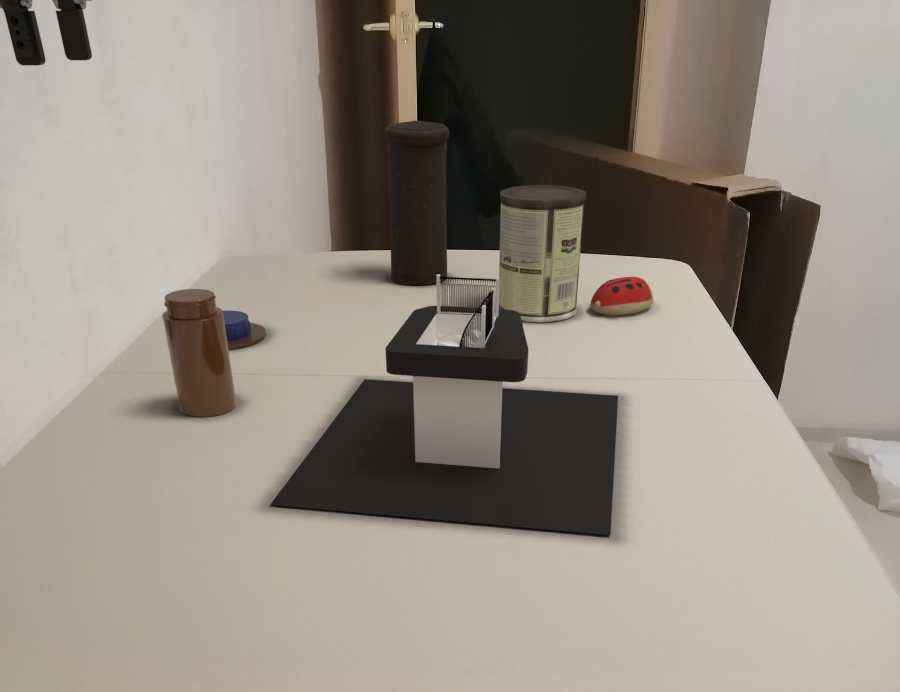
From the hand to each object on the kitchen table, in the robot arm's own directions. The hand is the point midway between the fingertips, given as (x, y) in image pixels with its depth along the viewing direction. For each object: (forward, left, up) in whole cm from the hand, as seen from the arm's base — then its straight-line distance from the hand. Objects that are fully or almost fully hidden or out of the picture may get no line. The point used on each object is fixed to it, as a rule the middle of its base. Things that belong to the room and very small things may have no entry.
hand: (57, 62), depth 73 cm
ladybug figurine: (+54, +30, -28) cm, 68 cm away
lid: (+6, +14, -26) cm, 30 cm away
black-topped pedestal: (+37, -14, -28) cm, 49 cm away
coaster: (+6, +14, -28) cm, 32 cm away
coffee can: (+43, +28, -28) cm, 59 cm away
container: (+26, +43, -28) cm, 58 cm away
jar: (+11, -7, -28) cm, 31 cm away
